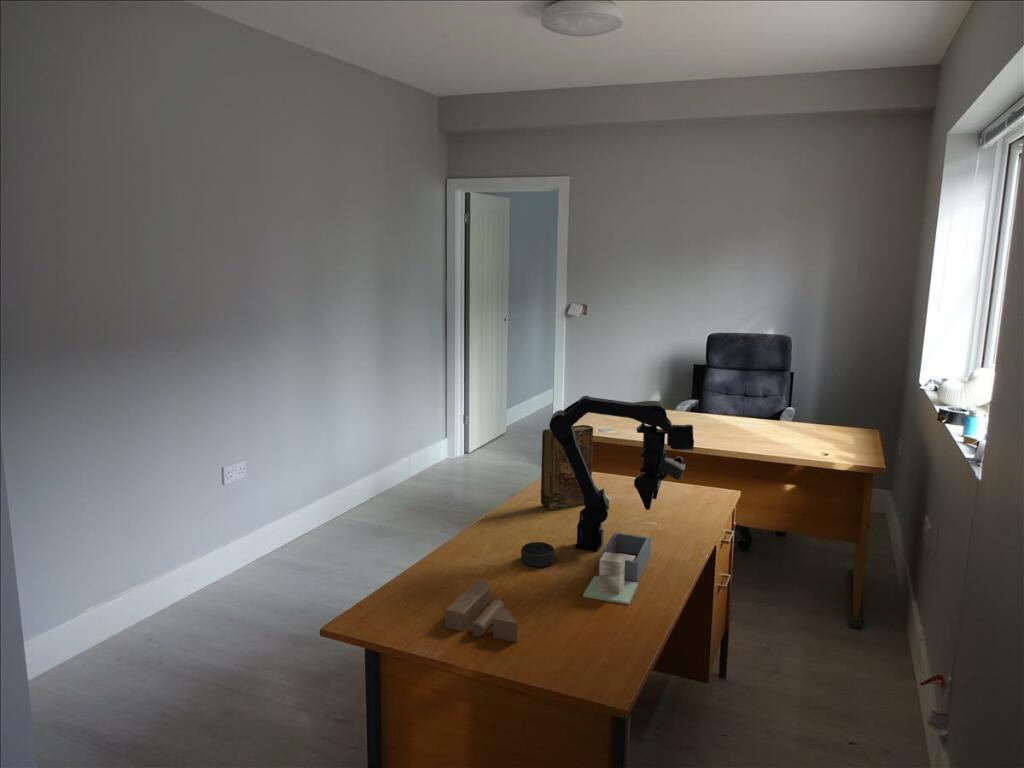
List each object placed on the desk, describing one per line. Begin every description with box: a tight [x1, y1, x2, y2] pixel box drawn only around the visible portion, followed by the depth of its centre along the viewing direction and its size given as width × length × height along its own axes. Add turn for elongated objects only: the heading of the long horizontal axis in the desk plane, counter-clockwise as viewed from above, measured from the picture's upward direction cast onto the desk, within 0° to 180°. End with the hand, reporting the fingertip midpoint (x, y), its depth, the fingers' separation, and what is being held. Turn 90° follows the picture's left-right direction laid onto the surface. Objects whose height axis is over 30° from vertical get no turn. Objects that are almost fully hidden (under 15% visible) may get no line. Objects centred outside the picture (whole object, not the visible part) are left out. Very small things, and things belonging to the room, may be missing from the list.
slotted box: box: [597, 531, 652, 583], centre depth 199 cm, size 10×18×5 cm, turn 160°
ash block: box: [599, 552, 625, 594], centre depth 184 cm, size 5×5×8 cm
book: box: [540, 424, 594, 511], centre depth 242 cm, size 16×6×25 cm, turn 117°
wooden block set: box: [444, 579, 518, 643], centre depth 171 cm, size 17×6×18 cm
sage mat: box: [582, 575, 639, 605], centre depth 185 cm, size 11×11×1 cm
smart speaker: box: [520, 541, 556, 568], centre depth 201 cm, size 9×9×4 cm
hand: (651, 504), depth 207 cm, fingers open, 9 cm apart
